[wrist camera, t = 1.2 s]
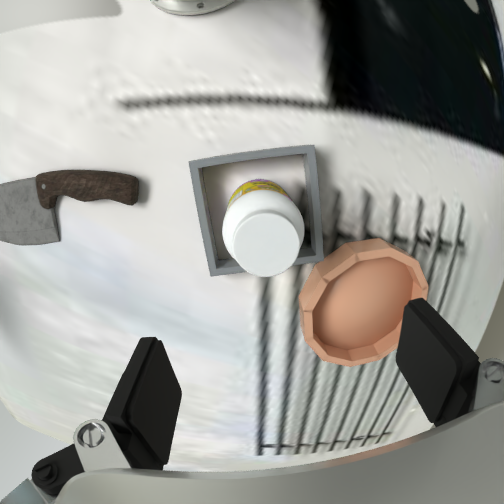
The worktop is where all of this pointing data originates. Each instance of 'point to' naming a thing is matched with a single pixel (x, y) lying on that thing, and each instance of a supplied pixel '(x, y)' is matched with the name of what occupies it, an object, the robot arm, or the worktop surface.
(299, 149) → the grey square frame
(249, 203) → the supplement bottle
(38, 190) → the cleaver
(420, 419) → the worktop surface
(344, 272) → the bowl
